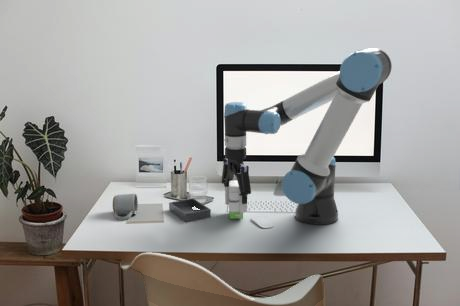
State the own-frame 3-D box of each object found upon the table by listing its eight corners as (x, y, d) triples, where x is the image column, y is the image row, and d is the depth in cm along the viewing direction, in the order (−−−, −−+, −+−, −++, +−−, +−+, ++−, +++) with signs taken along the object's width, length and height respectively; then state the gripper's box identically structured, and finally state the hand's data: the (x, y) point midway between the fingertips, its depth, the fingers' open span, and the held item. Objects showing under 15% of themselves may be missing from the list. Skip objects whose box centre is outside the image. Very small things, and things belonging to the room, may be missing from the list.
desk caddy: (193, 205, 216) (193, 198, 215) (210, 217, 204) (210, 209, 203) (169, 210, 211) (169, 202, 210) (185, 222, 199) (185, 214, 198)
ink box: (243, 218, 200) (243, 186, 197) (229, 218, 200) (228, 186, 197) (242, 210, 208) (242, 179, 205) (229, 210, 208) (228, 179, 205)
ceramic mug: (116, 210, 211) (115, 190, 209) (138, 210, 211) (137, 190, 209) (110, 221, 201) (109, 200, 198) (134, 221, 201) (133, 200, 199)
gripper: (211, 142, 206) (212, 200, 211) (242, 154, 187) (242, 219, 192) (229, 139, 209) (229, 197, 215) (261, 152, 190) (261, 215, 196)
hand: (236, 207), depth 203 cm, fingers closed on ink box, 9 cm apart
